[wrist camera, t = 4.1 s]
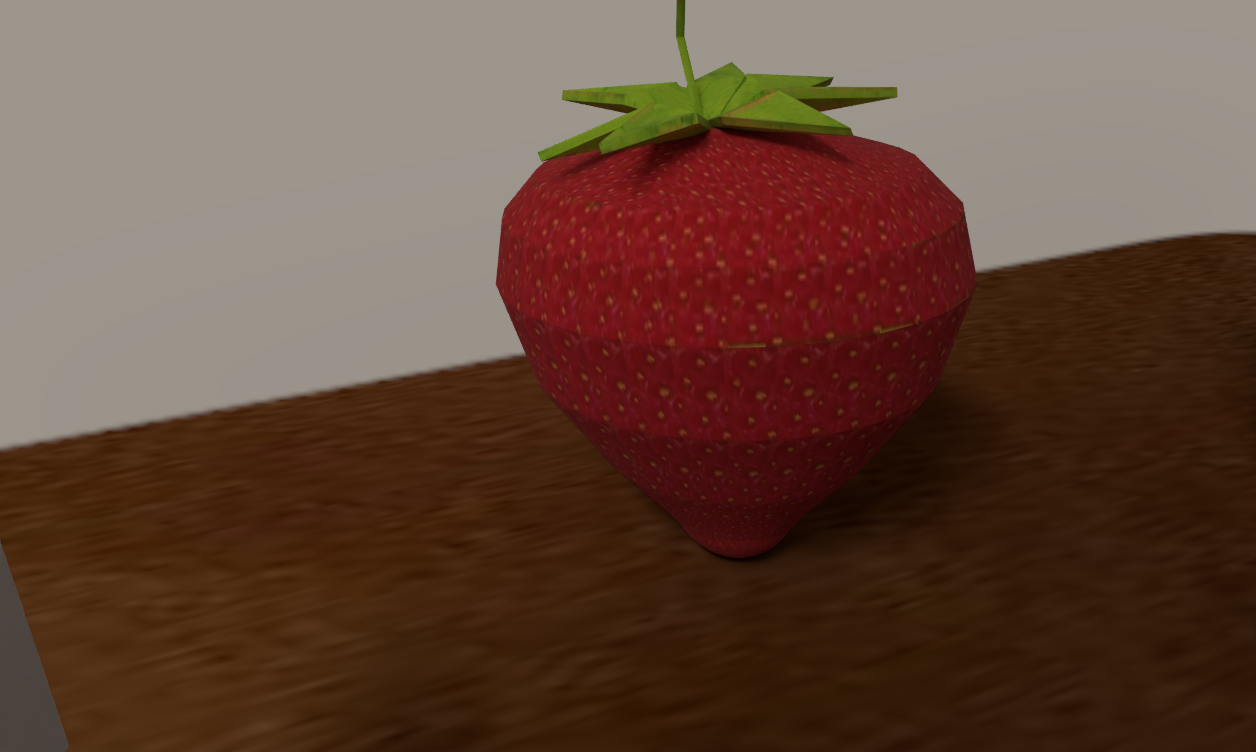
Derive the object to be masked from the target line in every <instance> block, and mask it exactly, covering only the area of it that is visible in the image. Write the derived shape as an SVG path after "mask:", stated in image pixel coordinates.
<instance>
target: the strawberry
mask: <svg viewBox="0 0 1256 752" xmlns="http://www.w3.org/2000/svg"><path fill="white" fill-rule="evenodd" d="M676 21H677V22H676V25H677V26H676V38H677V42H678V46H679V51H680V55H681V59H682V64H683V67H684V72H685V76H686V80H687V88H685V87H681V86H679V85H678V84H677V82H670V83H657V84H644V85H630V86H617V87H603V88H589V89H576V90H563V95H562V100H566V101H570V102H576V103H580V104H585V105H590V106H594V107H599V108H604V109H609V110H614V111H618V112H623V113H628V114H625V115H623V116H621V117H618V118H616V119H614V120H611V121H609V122H607V123H605V124H602V125H600V126H598V127H595V128H593V129H591V130H588V131H586V132H584V133H582V134H579V135H577V136H575V137H572V138H570V139H568V140H565V141H563V142H561V143H559V144H556V145H554V146H552V147H549V148H547V149H545V150H543V151H540V152H538V154H539V157H540V160H541V161H546V160H548V161H546V162H544V163H543V164H542V165H541V166H540V167H538V168H537V169H536V170H535V172H534V173H533V174H532V175H531V177H530V178H529V179H528V180H527V182H526V183H525V184H524V185H523V187H522V188H521V189H520V190H519V191H518V193H517V194H516V195H515V197H514V198H513V199H512V200H511V201H510V203H509V204H508V205H507V206H506V208H505V210H504V213H503V217H502V225H501V236H500V246H499V256H498V268H497V277H496V285H497V288H498V290H499V293H500V295H501V297H502V299H503V302H504V304H505V307H506V309H507V311H508V314H509V316H510V318H511V321H512V323H513V325H514V328H515V330H516V332H517V335H518V337H519V339H520V342H521V344H522V346H523V349H524V351H525V353H526V356H527V358H528V360H529V363H530V365H531V367H532V370H533V372H534V374H535V376H536V378H537V380H538V383H539V385H540V387H541V388H542V390H543V391H544V392H545V393H546V394H547V395H548V396H549V397H550V398H551V399H552V400H553V402H554V403H555V404H556V405H557V406H558V407H559V408H560V409H561V410H562V411H563V412H564V414H565V415H566V416H567V417H568V418H569V419H570V420H571V421H572V422H573V423H574V424H575V426H576V427H577V428H578V429H579V430H580V431H581V432H582V433H583V434H584V435H585V436H586V438H587V439H588V440H589V441H590V442H591V443H592V444H593V445H594V446H595V447H596V448H597V450H598V451H599V452H600V453H601V454H602V455H603V456H604V457H605V458H606V459H607V461H608V462H609V463H610V464H611V465H612V466H613V467H614V468H615V469H616V470H617V471H619V472H620V473H621V474H622V475H623V476H624V477H625V478H627V479H628V480H629V481H630V482H632V483H633V484H634V485H635V486H637V487H638V488H639V489H640V490H641V491H643V492H644V493H645V494H646V495H648V496H649V497H650V498H651V499H653V500H654V501H655V502H656V503H657V504H659V505H660V506H661V507H662V508H664V509H665V510H666V511H667V512H668V513H669V514H670V515H671V516H672V517H673V518H675V519H676V520H677V521H678V522H679V524H680V525H681V526H682V527H683V529H684V530H685V531H686V533H687V534H689V535H690V536H691V537H692V538H693V539H694V540H695V541H696V542H697V543H698V544H700V545H701V546H703V547H704V548H706V549H708V550H709V551H711V552H713V553H716V554H719V555H722V556H726V557H731V558H746V557H752V556H756V555H759V554H762V553H764V552H766V551H768V550H769V549H771V548H773V547H774V546H775V545H777V544H778V543H779V542H780V541H781V540H782V539H783V538H784V537H785V536H786V535H787V534H788V532H789V531H790V530H791V528H792V527H793V526H794V525H795V524H796V523H797V522H798V521H799V520H801V519H802V518H803V517H804V516H805V515H806V514H807V513H808V512H809V511H810V510H812V509H813V508H814V507H815V506H817V505H818V504H819V503H820V502H822V501H823V500H824V499H826V498H827V497H828V496H829V495H831V494H832V493H833V492H834V491H836V490H837V489H838V488H840V487H841V486H842V485H843V484H845V483H846V482H847V481H848V480H850V479H851V478H852V477H854V476H855V475H856V474H857V473H858V472H859V471H860V470H861V469H862V468H863V467H864V466H865V465H866V463H867V462H868V461H869V460H870V459H871V458H872V457H873V456H874V455H875V454H876V453H877V452H878V451H879V450H880V448H881V447H882V446H883V445H884V444H885V443H886V442H887V441H888V440H889V439H890V438H891V437H892V436H893V434H894V433H895V432H896V431H897V430H898V429H899V428H900V427H901V426H902V425H903V424H904V423H905V422H906V421H907V419H908V418H909V417H910V416H911V415H912V414H913V413H914V412H915V411H916V410H917V409H918V408H919V407H920V406H921V404H922V403H923V402H924V401H925V400H926V399H927V398H928V397H929V396H930V395H931V393H932V391H933V390H934V388H935V386H936V385H937V383H938V381H939V379H940V376H941V374H942V371H943V369H944V366H945V364H946V361H947V359H948V356H949V354H950V351H951V348H952V346H953V343H954V341H955V338H956V336H957V333H958V331H959V328H960V326H961V323H962V321H963V318H964V316H965V313H966V311H967V308H968V306H969V303H970V301H971V298H972V296H973V293H974V290H975V288H976V285H977V280H976V272H975V266H974V261H973V255H972V250H971V244H970V239H969V234H968V228H967V223H966V217H965V212H964V207H963V202H961V201H960V200H959V198H958V197H957V196H956V195H955V194H953V192H952V191H950V189H949V188H948V187H947V186H945V184H944V183H943V182H942V181H941V180H940V179H939V178H938V177H936V176H935V174H934V173H933V172H932V171H931V170H929V168H928V167H926V165H925V164H924V163H923V162H922V161H921V160H919V158H917V157H916V155H914V154H912V153H910V152H908V151H906V150H903V149H901V148H899V147H895V146H892V145H888V144H885V143H881V142H878V141H873V140H869V139H866V138H862V137H857V136H853V133H852V131H851V129H850V128H849V127H847V126H846V125H844V124H842V123H840V122H838V121H836V120H834V119H832V118H830V117H829V116H826V115H825V114H822V113H821V111H826V110H832V109H837V108H842V107H847V106H853V105H858V104H864V103H869V102H873V101H880V100H884V99H890V98H895V97H897V87H826V86H828V85H830V84H831V82H832V80H833V77H813V76H790V75H765V74H747V75H745V74H744V73H743V72H742V71H741V70H740V69H738V68H737V67H736V66H735V65H734V64H733V63H729V64H727V65H725V66H723V67H721V68H719V69H717V70H715V71H713V72H711V73H709V74H707V75H704V76H702V77H700V78H698V79H696V80H694V76H693V72H692V67H691V63H690V59H689V55H688V50H687V46H686V42H685V38H684V26H685V0H677V19H676Z"/></svg>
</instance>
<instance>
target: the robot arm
mask: <svg viewBox="0 0 1256 752" xmlns="http://www.w3.org/2000/svg"><path fill="white" fill-rule="evenodd" d="M68 746H69V745H68V742H67V739H66V736H65V733H64V730H63V727H62V724H61V721H60V718H59V715H58V712H57V709H56V706H55V703H54V700H53V697H52V694H51V691H50V688H49V685H48V682H47V679H46V676H45V673H44V670H43V667H42V664H41V661H40V658H39V655H38V652H37V649H36V646H35V643H34V640H33V637H32V634H31V631H30V628H29V625H28V622H27V620H26V617H25V614H24V611H23V608H22V605H21V602H20V599H19V596H18V593H17V590H16V587H15V584H14V581H13V578H12V575H11V572H10V569H9V566H8V563H7V560H6V557H5V554H4V551H3V548H2V545H1V542H0V752H65V751H66V750H67V748H68Z"/></svg>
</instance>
